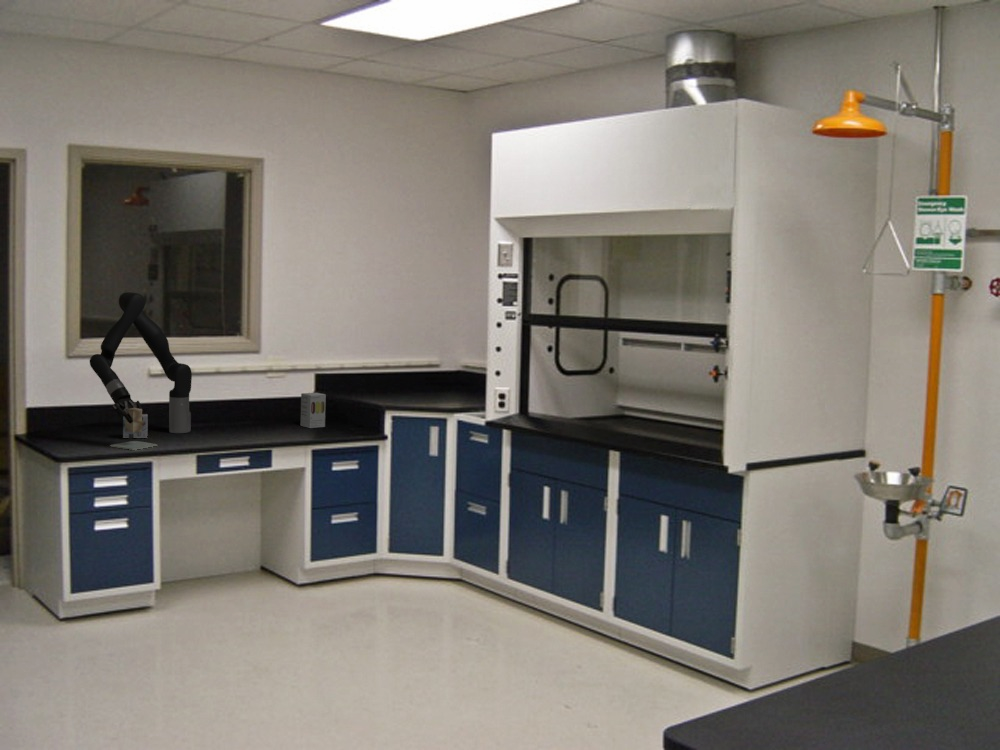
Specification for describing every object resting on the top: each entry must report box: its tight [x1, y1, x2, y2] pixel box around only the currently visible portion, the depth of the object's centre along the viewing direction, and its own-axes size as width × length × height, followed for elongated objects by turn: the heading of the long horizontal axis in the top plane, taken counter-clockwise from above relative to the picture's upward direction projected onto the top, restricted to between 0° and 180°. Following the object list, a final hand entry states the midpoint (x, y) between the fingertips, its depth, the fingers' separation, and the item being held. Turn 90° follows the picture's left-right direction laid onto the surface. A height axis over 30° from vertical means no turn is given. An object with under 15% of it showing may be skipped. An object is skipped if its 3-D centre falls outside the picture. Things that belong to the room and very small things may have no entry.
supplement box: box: [300, 392, 327, 429], centre depth 549 cm, size 10×9×17 cm
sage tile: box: [109, 440, 158, 451], centre depth 478 cm, size 14×14×1 cm
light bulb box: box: [122, 413, 149, 439], centre depth 499 cm, size 11×7×11 cm, turn 105°
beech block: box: [125, 408, 143, 433], centre depth 476 cm, size 5×5×10 cm
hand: (136, 421), depth 475 cm, fingers closed on beech block, 5 cm apart
